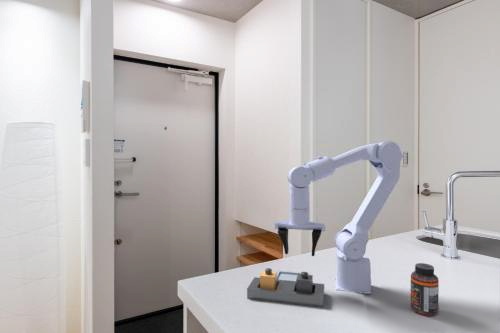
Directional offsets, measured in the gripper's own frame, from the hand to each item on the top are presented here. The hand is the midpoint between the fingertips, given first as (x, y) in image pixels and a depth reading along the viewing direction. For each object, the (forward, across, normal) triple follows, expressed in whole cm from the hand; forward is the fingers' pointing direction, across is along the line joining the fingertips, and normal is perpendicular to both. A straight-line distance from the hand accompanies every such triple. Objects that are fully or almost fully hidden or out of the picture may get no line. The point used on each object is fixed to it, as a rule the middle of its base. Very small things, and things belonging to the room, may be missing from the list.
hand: (299, 254), depth 88 cm
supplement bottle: (+10, -31, +6) cm, 33 cm away
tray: (+10, +3, -4) cm, 11 cm away
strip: (+10, +3, +7) cm, 12 cm away
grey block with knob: (+10, -2, +7) cm, 12 cm away
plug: (+10, +8, +7) cm, 14 cm away
